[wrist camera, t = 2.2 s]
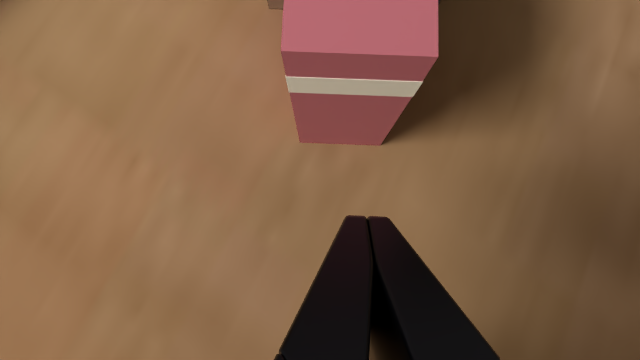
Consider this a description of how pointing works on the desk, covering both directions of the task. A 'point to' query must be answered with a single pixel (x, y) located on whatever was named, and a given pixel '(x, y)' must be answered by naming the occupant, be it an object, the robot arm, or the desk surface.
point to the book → (355, 64)
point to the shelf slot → (277, 2)
